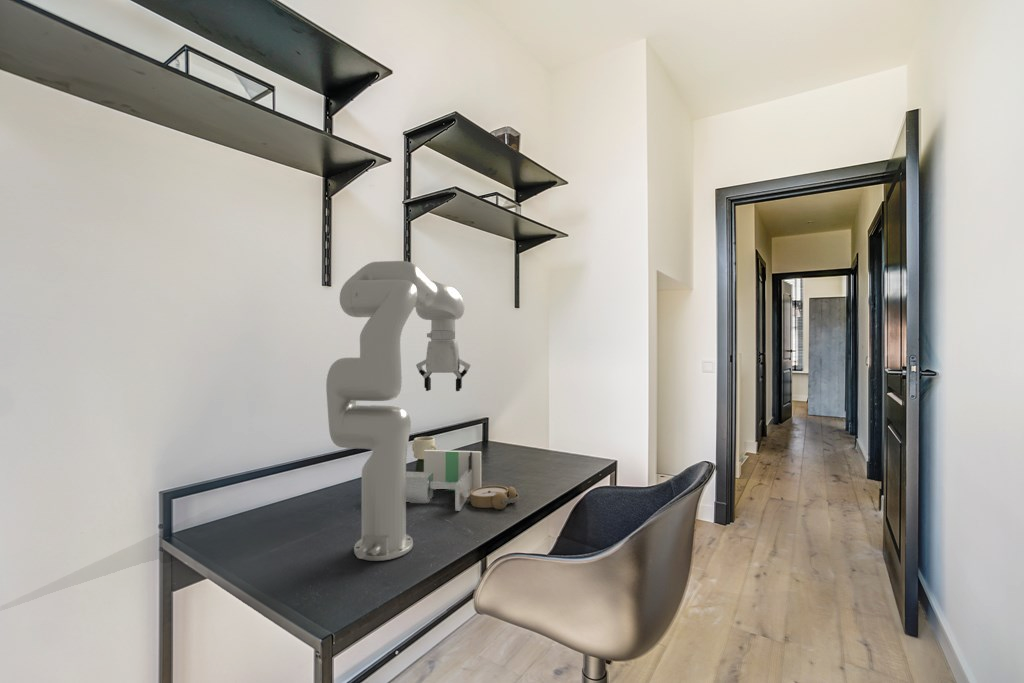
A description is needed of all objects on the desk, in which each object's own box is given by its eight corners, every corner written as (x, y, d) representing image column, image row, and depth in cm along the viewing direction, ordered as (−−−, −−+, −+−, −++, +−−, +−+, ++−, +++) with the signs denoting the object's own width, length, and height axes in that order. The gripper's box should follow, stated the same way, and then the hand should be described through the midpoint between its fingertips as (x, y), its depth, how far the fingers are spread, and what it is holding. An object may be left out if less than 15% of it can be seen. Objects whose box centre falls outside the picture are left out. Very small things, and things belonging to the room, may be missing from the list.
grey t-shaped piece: (459, 510, 125) (459, 471, 125) (419, 509, 126) (419, 470, 126) (472, 490, 142) (472, 455, 142) (436, 489, 143) (437, 454, 143)
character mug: (443, 476, 158) (443, 438, 158) (428, 481, 152) (428, 442, 152) (420, 471, 164) (420, 435, 164) (405, 476, 158) (405, 438, 158)
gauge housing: (427, 503, 132) (427, 477, 132) (383, 501, 133) (383, 476, 133) (433, 497, 137) (433, 472, 137) (390, 495, 139) (390, 470, 139)
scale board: (480, 491, 142) (480, 452, 142) (423, 489, 144) (423, 450, 144) (481, 490, 144) (481, 451, 144) (425, 487, 146) (425, 449, 146)
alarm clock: (483, 484, 141) (525, 483, 133) (485, 500, 140) (528, 500, 133) (461, 494, 131) (505, 493, 124) (463, 512, 131) (508, 512, 123)
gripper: (413, 336, 144) (412, 391, 144) (467, 336, 142) (467, 392, 142) (420, 337, 151) (420, 389, 151) (472, 337, 150) (472, 389, 150)
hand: (443, 390), depth 147 cm, fingers open, 9 cm apart
